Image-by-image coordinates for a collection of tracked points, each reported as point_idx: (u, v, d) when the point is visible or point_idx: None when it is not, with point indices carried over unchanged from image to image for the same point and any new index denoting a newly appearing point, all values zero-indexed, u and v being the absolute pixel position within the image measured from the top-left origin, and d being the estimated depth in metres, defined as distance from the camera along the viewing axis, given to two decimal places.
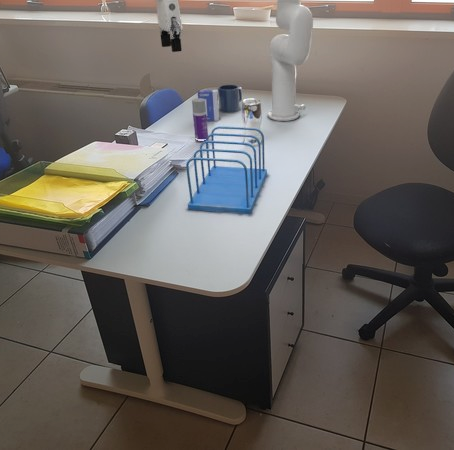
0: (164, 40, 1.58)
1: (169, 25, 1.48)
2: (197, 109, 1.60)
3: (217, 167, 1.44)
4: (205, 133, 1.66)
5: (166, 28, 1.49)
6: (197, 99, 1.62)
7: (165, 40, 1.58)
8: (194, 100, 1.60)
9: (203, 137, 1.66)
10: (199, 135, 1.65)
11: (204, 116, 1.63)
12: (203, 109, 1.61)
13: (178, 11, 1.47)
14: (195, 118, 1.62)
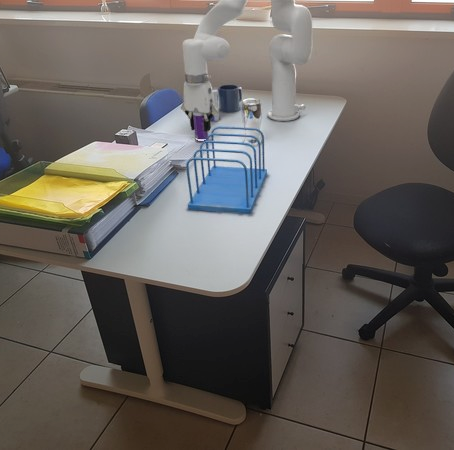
0: (193, 124, 1.66)
1: None
2: (197, 109, 1.60)
3: (217, 167, 1.44)
4: (205, 133, 1.66)
5: (204, 110, 1.60)
6: None
7: None
8: None
9: (203, 137, 1.66)
10: (199, 135, 1.65)
11: None
12: None
13: (212, 93, 1.60)
14: (195, 118, 1.62)
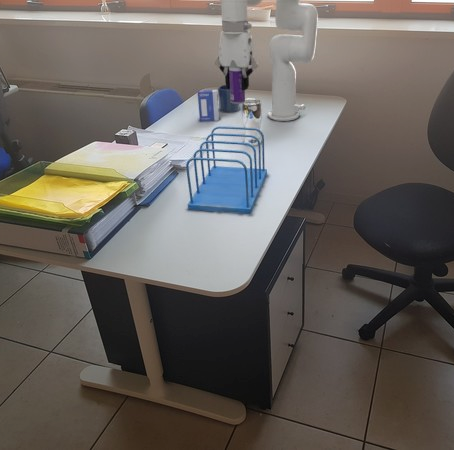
0: (229, 81, 1.46)
1: (246, 64, 1.40)
2: (234, 63, 1.41)
3: (217, 167, 1.44)
4: (242, 92, 1.46)
5: (242, 64, 1.40)
6: None
7: None
8: None
9: (240, 97, 1.47)
10: (236, 94, 1.46)
11: None
12: None
13: (252, 45, 1.40)
14: (232, 74, 1.43)
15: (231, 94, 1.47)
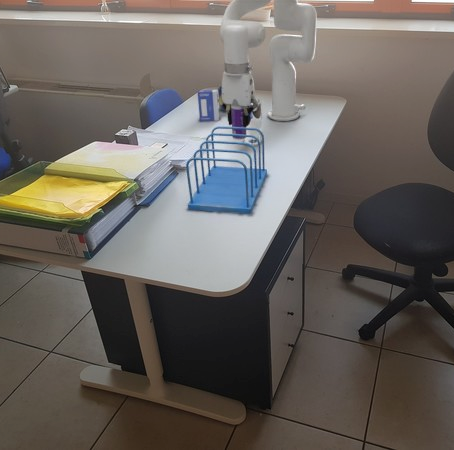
0: (231, 118, 1.53)
1: None
2: (236, 102, 1.47)
3: (217, 167, 1.44)
4: None
5: (244, 103, 1.47)
6: None
7: None
8: None
9: (242, 133, 1.53)
10: (238, 131, 1.52)
11: (243, 110, 1.49)
12: None
13: (253, 85, 1.47)
14: (234, 112, 1.49)
15: (233, 130, 1.53)
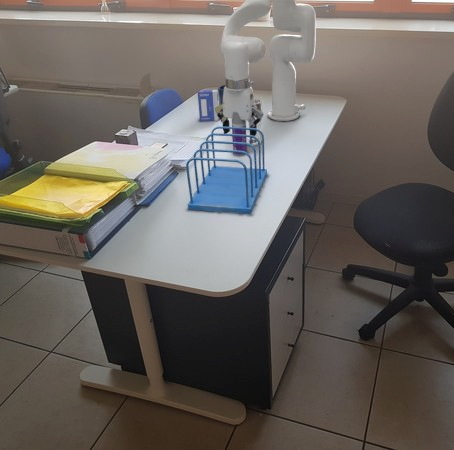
0: None
1: (250, 114, 1.48)
2: (237, 120, 1.50)
3: (217, 167, 1.44)
4: (244, 145, 1.56)
5: (245, 117, 1.49)
6: None
7: None
8: None
9: (242, 150, 1.56)
10: (238, 148, 1.55)
11: (244, 127, 1.52)
12: (243, 120, 1.51)
13: (254, 99, 1.49)
14: (234, 129, 1.52)
15: (234, 147, 1.56)
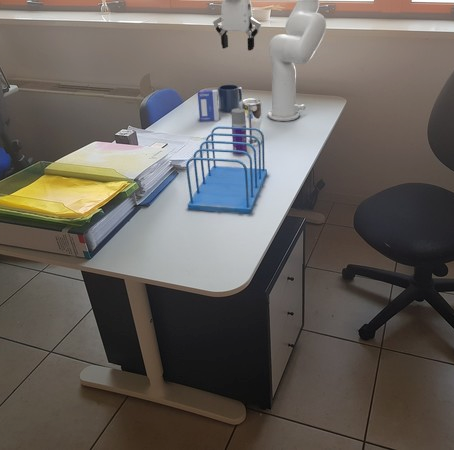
0: (225, 41, 1.60)
1: (248, 25, 1.53)
2: (237, 120, 1.50)
3: (217, 167, 1.44)
4: (244, 145, 1.56)
5: (242, 28, 1.53)
6: (237, 109, 1.52)
7: (225, 41, 1.60)
8: (234, 110, 1.50)
9: (242, 150, 1.56)
10: (238, 148, 1.55)
11: (244, 127, 1.52)
12: (243, 120, 1.51)
13: None
14: (234, 129, 1.52)
15: (234, 147, 1.56)
